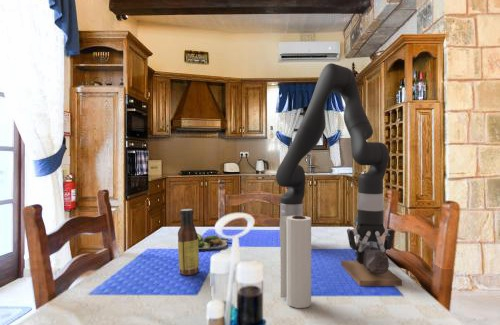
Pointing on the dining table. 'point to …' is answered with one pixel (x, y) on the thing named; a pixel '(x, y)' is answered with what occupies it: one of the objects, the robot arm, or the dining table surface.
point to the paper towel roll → (296, 260)
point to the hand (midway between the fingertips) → (370, 263)
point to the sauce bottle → (188, 244)
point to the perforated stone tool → (375, 259)
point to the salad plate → (211, 242)
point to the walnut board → (370, 275)
